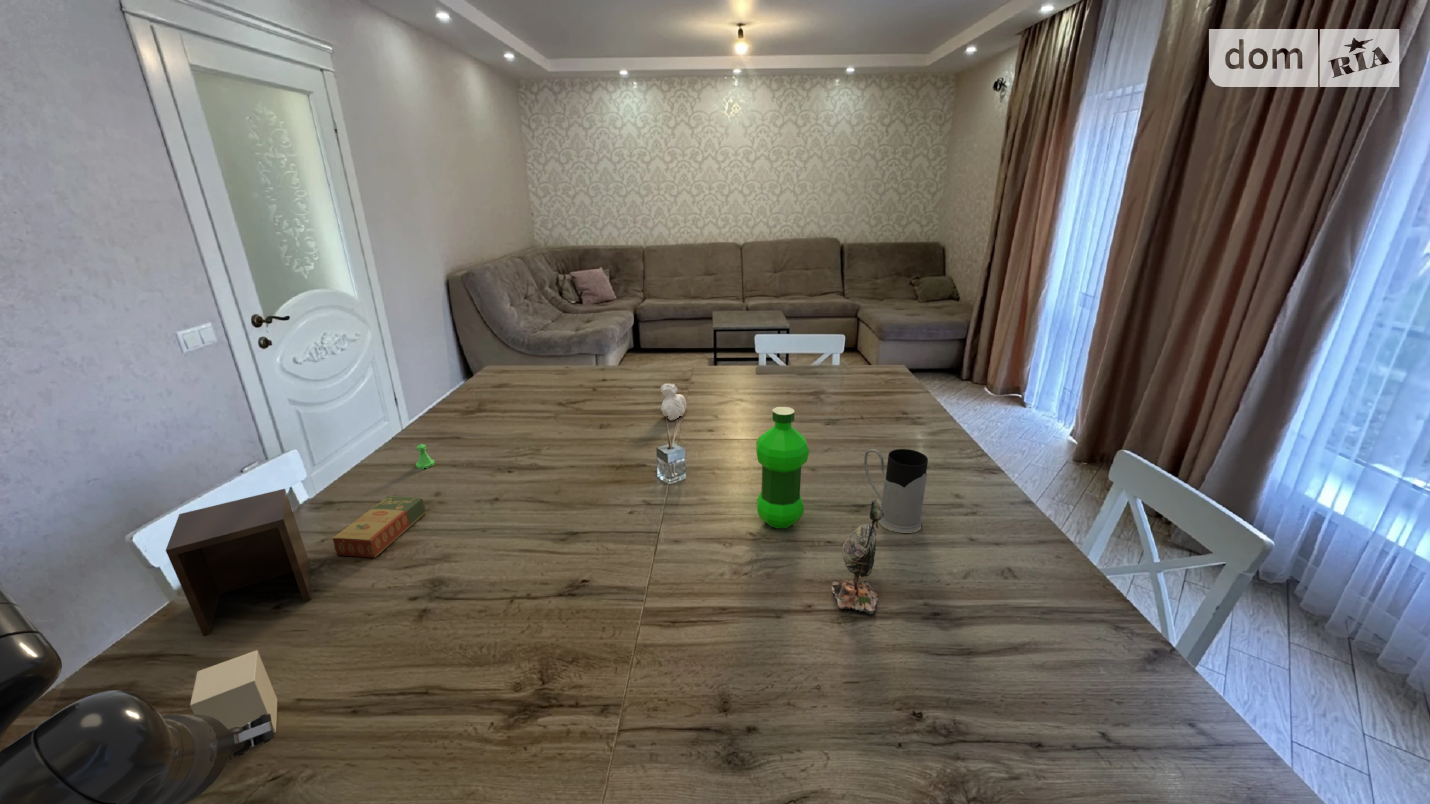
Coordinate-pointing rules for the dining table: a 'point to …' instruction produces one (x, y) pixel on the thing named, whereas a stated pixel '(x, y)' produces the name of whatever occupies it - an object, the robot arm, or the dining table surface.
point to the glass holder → (902, 488)
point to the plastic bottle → (781, 470)
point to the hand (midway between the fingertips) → (222, 753)
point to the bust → (672, 402)
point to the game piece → (423, 458)
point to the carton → (379, 526)
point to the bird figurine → (859, 565)
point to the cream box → (235, 692)
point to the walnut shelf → (236, 550)
